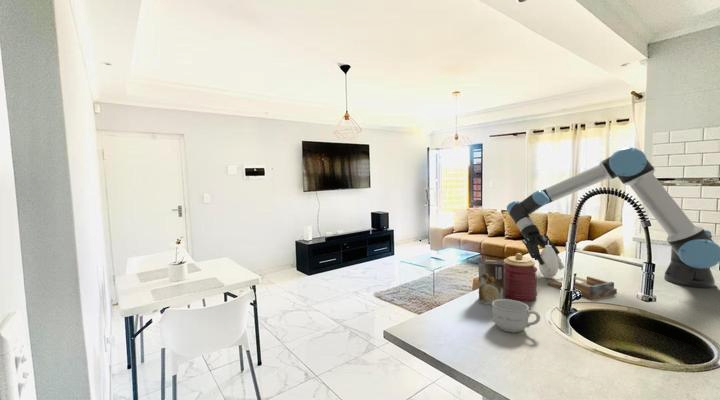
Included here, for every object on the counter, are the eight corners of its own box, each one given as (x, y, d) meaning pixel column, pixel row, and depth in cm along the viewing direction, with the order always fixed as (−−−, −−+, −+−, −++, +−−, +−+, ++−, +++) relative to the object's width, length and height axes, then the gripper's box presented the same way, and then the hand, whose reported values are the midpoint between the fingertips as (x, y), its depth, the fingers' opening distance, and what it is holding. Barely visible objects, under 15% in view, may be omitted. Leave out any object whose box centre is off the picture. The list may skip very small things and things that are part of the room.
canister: (544, 299, 126) (545, 254, 124) (519, 304, 121) (519, 259, 120) (518, 288, 138) (518, 247, 136) (494, 292, 133) (494, 251, 132)
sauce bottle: (554, 274, 152) (554, 237, 150) (561, 280, 144) (561, 241, 143) (536, 274, 154) (536, 238, 152) (542, 280, 146) (542, 242, 144)
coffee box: (503, 300, 126) (504, 260, 124) (504, 306, 120) (504, 264, 119) (479, 297, 129) (478, 258, 128) (478, 303, 123) (478, 262, 122)
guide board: (573, 279, 146) (573, 269, 146) (616, 292, 129) (617, 281, 129) (547, 284, 141) (547, 274, 140) (589, 299, 124) (589, 288, 123)
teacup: (485, 327, 105) (485, 303, 104) (502, 317, 112) (503, 294, 111) (529, 344, 94) (529, 318, 93) (545, 332, 101) (546, 307, 100)
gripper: (540, 231, 165) (567, 270, 151) (507, 234, 159) (532, 276, 145) (548, 222, 159) (578, 262, 145) (515, 225, 154) (542, 267, 140)
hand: (555, 269), depth 145 cm, fingers closed on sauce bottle, 7 cm apart
